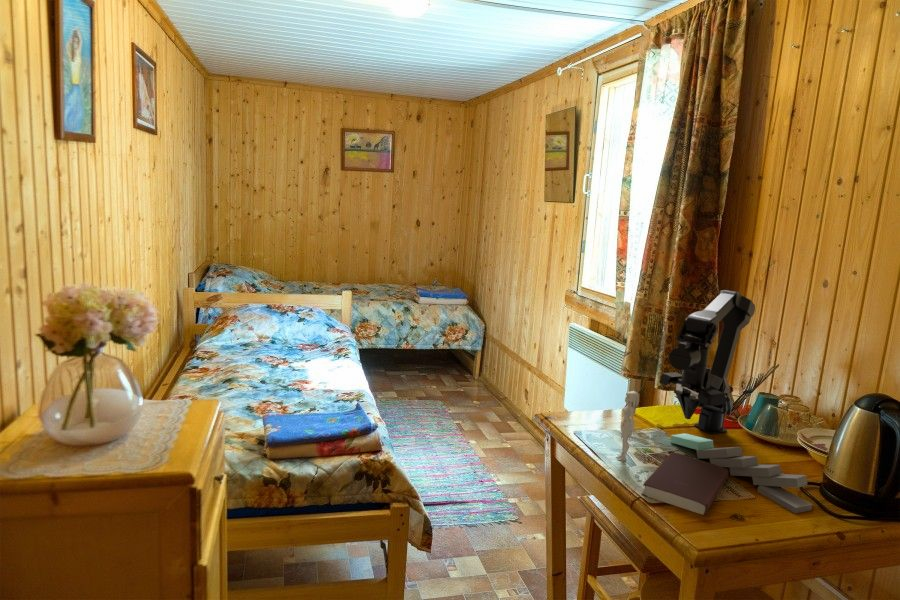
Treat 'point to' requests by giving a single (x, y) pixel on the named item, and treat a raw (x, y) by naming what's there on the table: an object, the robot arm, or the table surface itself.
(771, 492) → the domino
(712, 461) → the domino
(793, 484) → the domino
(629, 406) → the human figurine
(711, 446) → the domino head
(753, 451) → the table surface
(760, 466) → the domino
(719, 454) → the domino
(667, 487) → the book
